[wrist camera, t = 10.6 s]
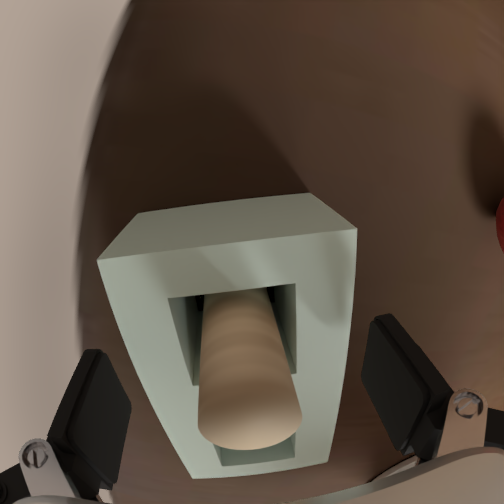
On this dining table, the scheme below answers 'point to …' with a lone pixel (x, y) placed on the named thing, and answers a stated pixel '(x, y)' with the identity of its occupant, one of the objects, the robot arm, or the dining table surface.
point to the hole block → (233, 279)
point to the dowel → (244, 373)
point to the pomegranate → (500, 223)
